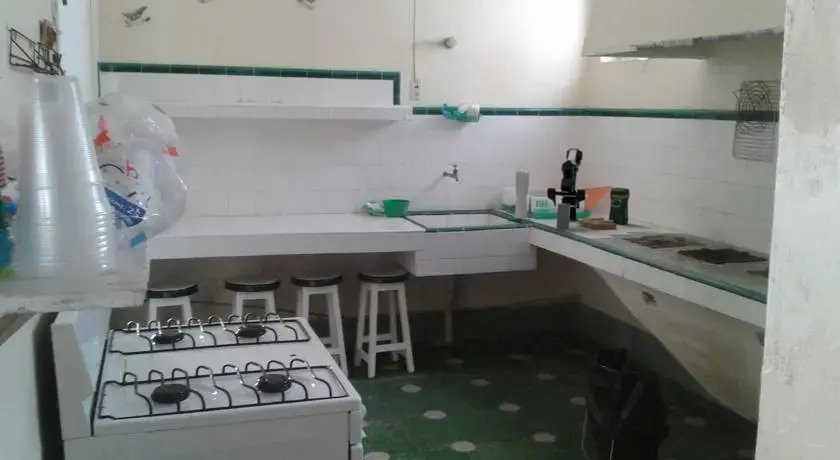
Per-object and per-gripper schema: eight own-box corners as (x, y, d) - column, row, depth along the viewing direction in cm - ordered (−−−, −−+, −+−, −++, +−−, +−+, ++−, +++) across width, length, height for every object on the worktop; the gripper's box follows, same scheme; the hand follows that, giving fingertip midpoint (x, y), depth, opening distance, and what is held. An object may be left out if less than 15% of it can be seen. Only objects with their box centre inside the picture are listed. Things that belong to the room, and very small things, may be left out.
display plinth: (580, 225, 386) (580, 217, 386) (600, 224, 390) (601, 217, 389) (594, 229, 373) (595, 221, 372) (616, 229, 377) (616, 221, 376)
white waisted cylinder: (525, 221, 400) (527, 167, 396) (511, 219, 404) (513, 167, 400) (531, 219, 407) (533, 167, 403) (517, 218, 411) (519, 166, 407)
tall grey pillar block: (557, 227, 379) (558, 203, 377) (568, 227, 378) (570, 203, 376) (556, 228, 374) (557, 204, 373) (567, 229, 373) (569, 204, 371)
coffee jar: (630, 223, 397) (632, 188, 394) (623, 225, 391) (625, 189, 388) (613, 221, 403) (615, 186, 400) (606, 223, 397) (608, 187, 394)
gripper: (548, 171, 383) (544, 195, 374) (586, 173, 378) (583, 197, 369) (549, 186, 391) (545, 209, 383) (586, 188, 386) (583, 212, 377)
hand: (564, 207), depth 378 cm, fingers open, 9 cm apart
